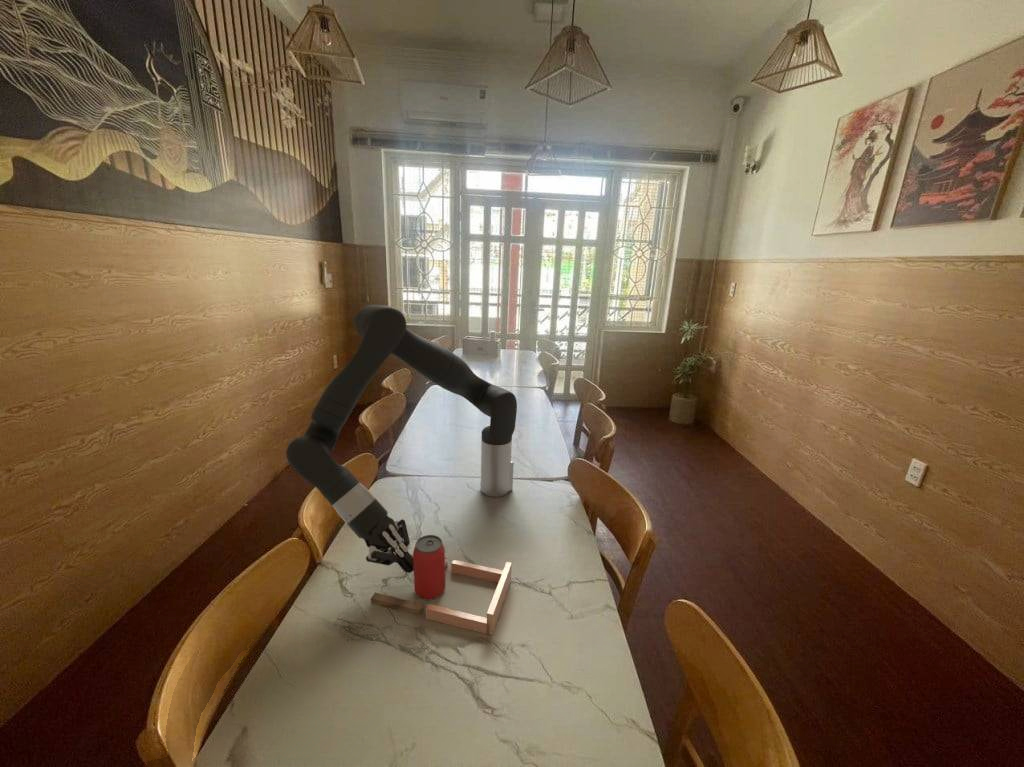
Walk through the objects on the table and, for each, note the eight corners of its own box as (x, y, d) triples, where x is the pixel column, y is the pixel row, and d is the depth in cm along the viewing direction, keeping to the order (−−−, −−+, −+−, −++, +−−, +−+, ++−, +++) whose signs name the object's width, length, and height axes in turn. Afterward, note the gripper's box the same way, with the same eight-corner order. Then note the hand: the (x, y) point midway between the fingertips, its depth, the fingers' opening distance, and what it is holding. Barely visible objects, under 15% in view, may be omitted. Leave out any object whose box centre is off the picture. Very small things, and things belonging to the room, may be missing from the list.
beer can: (450, 583, 91) (450, 537, 88) (435, 605, 85) (435, 557, 82) (424, 575, 93) (423, 530, 90) (408, 596, 87) (406, 548, 84)
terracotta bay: (426, 618, 82) (425, 598, 80) (453, 568, 95) (453, 550, 94) (492, 635, 79) (493, 614, 77) (510, 581, 92) (511, 562, 91)
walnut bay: (371, 604, 85) (370, 598, 84) (404, 558, 98) (404, 552, 98) (419, 616, 82) (419, 610, 82) (447, 567, 96) (447, 562, 95)
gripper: (351, 519, 80) (409, 584, 81) (387, 485, 93) (437, 542, 93) (330, 536, 83) (386, 599, 84) (367, 501, 96) (416, 556, 96)
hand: (413, 569), depth 89 cm, fingers closed
